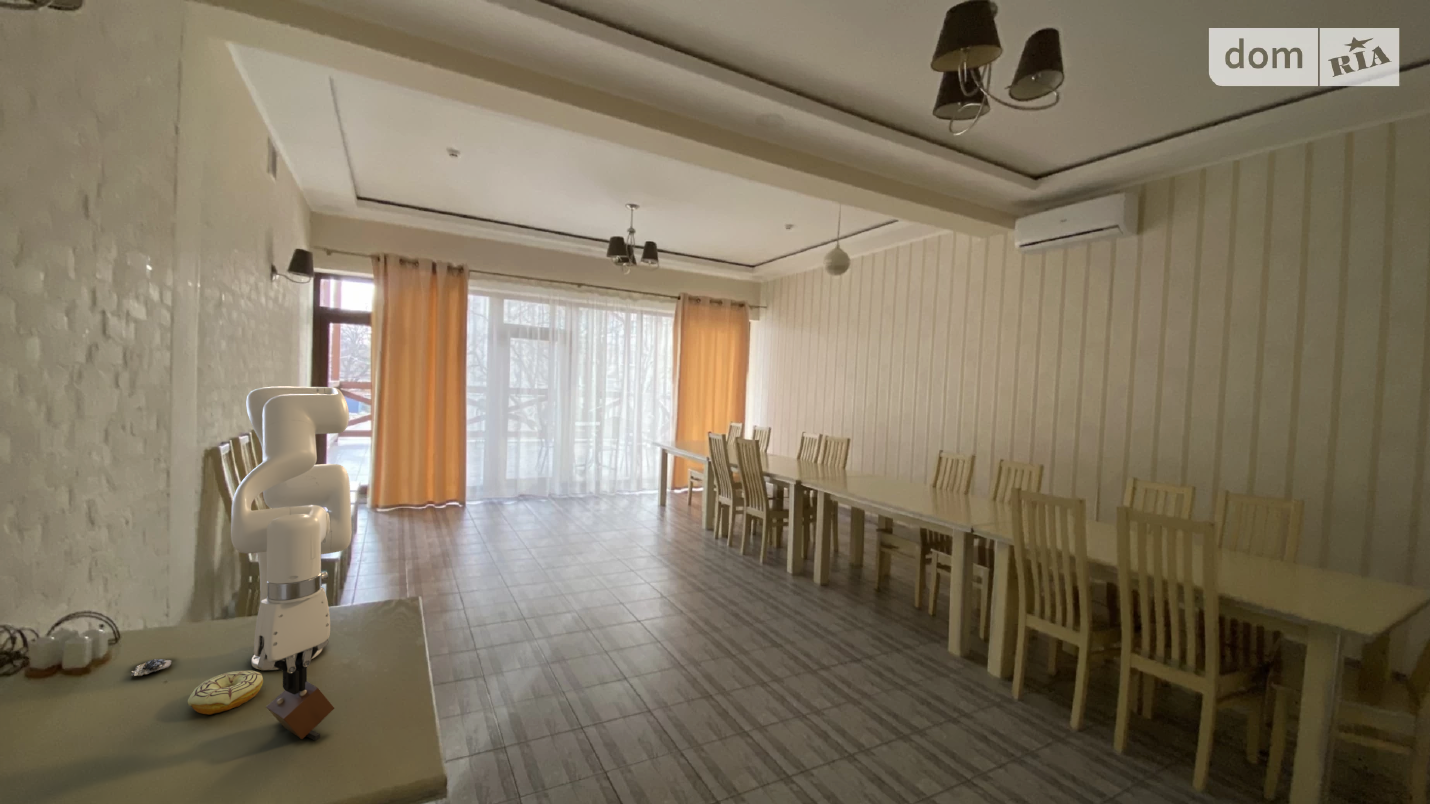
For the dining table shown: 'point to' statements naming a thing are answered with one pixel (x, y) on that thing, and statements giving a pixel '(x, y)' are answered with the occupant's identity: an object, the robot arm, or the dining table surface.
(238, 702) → the decorated donut
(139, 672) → the oyster shell
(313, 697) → the die
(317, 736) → the stop strip
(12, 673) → the dining table surface
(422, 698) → the dining table surface
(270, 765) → the dining table surface
